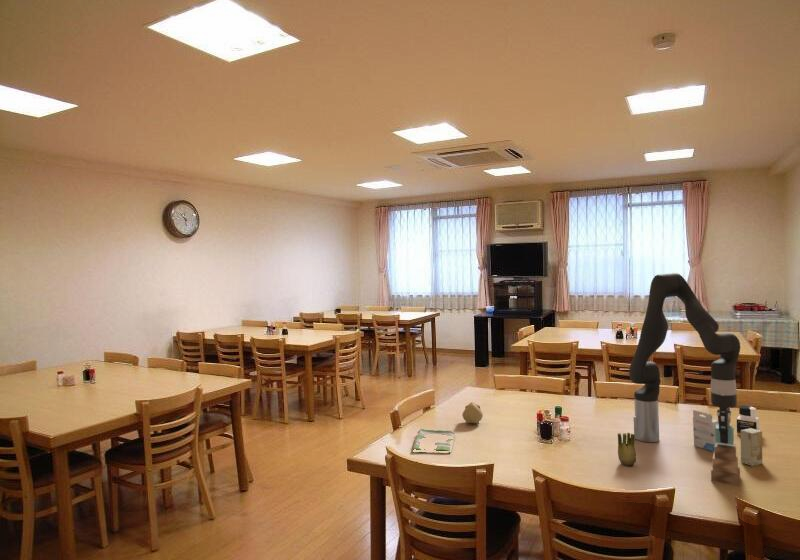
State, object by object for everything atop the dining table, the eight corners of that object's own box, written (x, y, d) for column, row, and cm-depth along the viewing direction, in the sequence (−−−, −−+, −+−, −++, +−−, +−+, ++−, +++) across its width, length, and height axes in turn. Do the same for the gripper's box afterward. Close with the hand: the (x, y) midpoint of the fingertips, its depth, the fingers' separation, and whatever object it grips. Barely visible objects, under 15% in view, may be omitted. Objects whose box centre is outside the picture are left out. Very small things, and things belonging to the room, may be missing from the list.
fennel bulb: (617, 464, 190) (616, 432, 189) (622, 460, 193) (621, 429, 193) (633, 468, 185) (632, 436, 185) (638, 464, 189) (637, 432, 189)
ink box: (721, 449, 200) (720, 413, 200) (713, 452, 198) (712, 414, 198) (701, 443, 208) (700, 407, 208) (693, 445, 206) (692, 409, 206)
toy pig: (483, 420, 251) (482, 398, 251) (482, 427, 239) (481, 405, 239) (463, 419, 253) (463, 398, 253) (461, 427, 241) (461, 405, 241)
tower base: (711, 481, 172) (711, 470, 172) (713, 473, 179) (712, 462, 179) (739, 486, 168) (739, 475, 168) (740, 478, 174) (739, 466, 174)
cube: (715, 442, 173) (715, 428, 172) (716, 438, 177) (716, 424, 176) (733, 445, 170) (732, 430, 169) (733, 440, 174) (733, 426, 174)
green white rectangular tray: (455, 436, 229) (455, 428, 229) (452, 455, 207) (452, 446, 207) (418, 435, 232) (417, 428, 232) (411, 454, 209) (410, 445, 209)
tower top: (714, 458, 172) (714, 446, 172) (715, 452, 177) (715, 441, 177) (735, 461, 169) (735, 450, 169) (736, 455, 174) (736, 444, 174)
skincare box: (752, 466, 183) (751, 433, 183) (740, 462, 187) (739, 430, 187) (763, 463, 185) (762, 430, 185) (751, 459, 189) (750, 427, 189)
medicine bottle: (736, 434, 216) (736, 407, 216) (739, 430, 221) (739, 403, 221) (756, 438, 211) (756, 410, 211) (759, 433, 216) (758, 406, 216)
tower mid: (712, 469, 173) (712, 458, 173) (714, 462, 178) (714, 451, 178) (737, 474, 169) (736, 462, 169) (738, 466, 174) (737, 455, 174)
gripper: (712, 386, 181) (713, 432, 181) (708, 394, 169) (710, 444, 170) (737, 388, 176) (738, 436, 177) (735, 397, 165) (736, 448, 165)
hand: (724, 440), depth 173 cm, fingers closed on cube, 4 cm apart
